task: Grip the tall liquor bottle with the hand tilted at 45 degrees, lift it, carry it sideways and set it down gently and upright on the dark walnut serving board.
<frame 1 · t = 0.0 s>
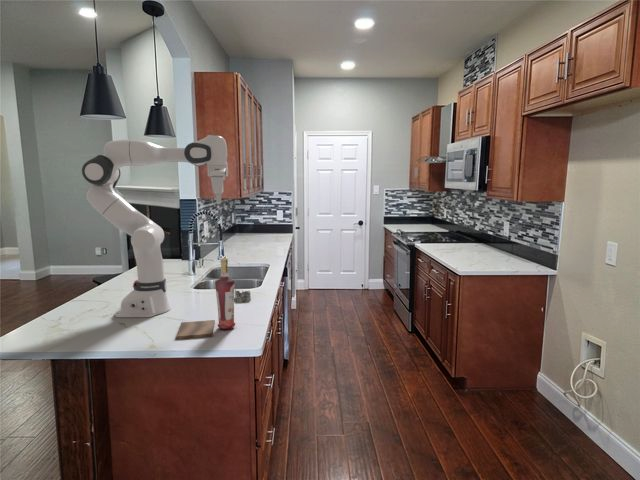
hand: (219, 203, 177), 48 cm above the countertop, tool pointing down, fingers open, 8 cm apart
serving board: (196, 330, 153), on the countertop
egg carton: (243, 299, 195), on the countertop
liquor: (226, 328, 156), on the countertop
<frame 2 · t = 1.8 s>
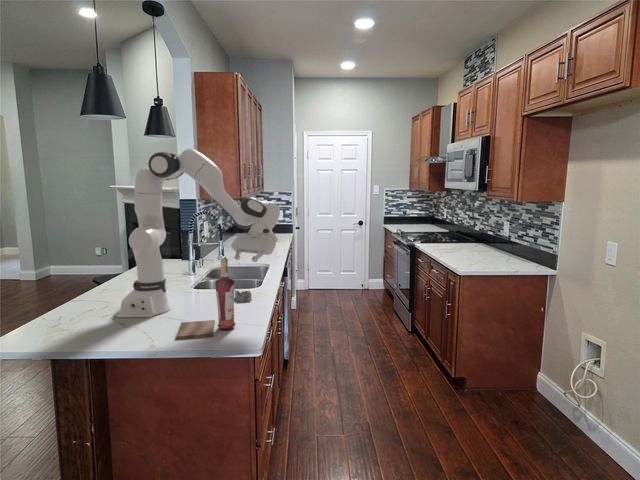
hand: (245, 260, 163), 25 cm above the countertop, tool tilted 45°, fingers open, 8 cm apart
nothing on the countertop moved.
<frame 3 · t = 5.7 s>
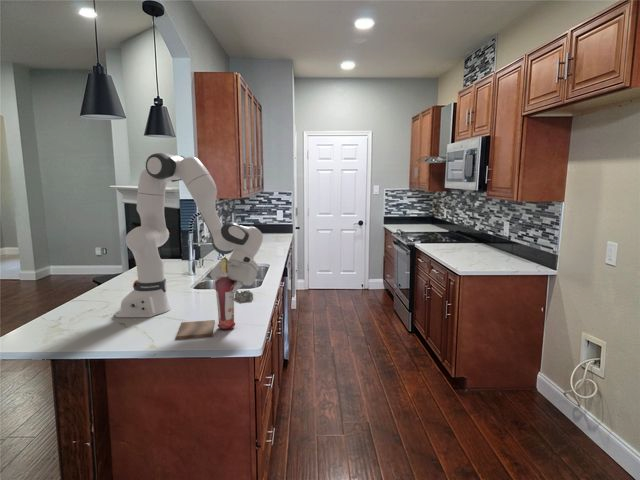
hand: (224, 290, 153), 15 cm above the countertop, tool tilted 45°, fingers closed on liquor, 7 cm apart
liquor: (226, 328, 156), on the countertop, touching gripper
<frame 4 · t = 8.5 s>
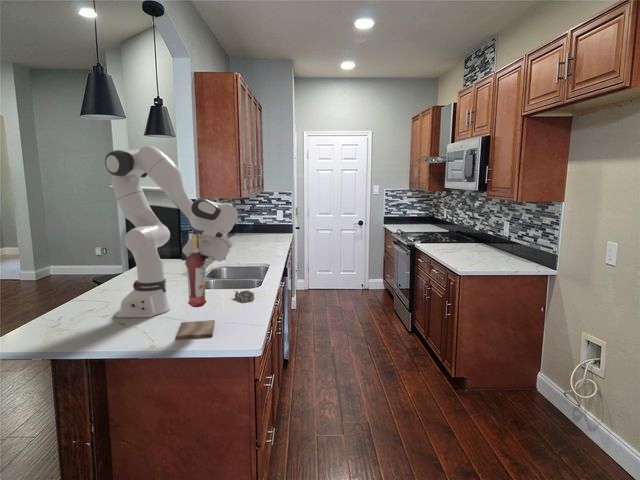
hand: (194, 266, 150), 26 cm above the countertop, tool tilted 45°, fingers closed on liquor, 7 cm apart
liquor: (197, 306, 152), point 10 cm above the countertop, touching gripper
when the fingers open (18 cm above the countertop, at t = 11.7 s): liquor stays where it is, resting on serving board.
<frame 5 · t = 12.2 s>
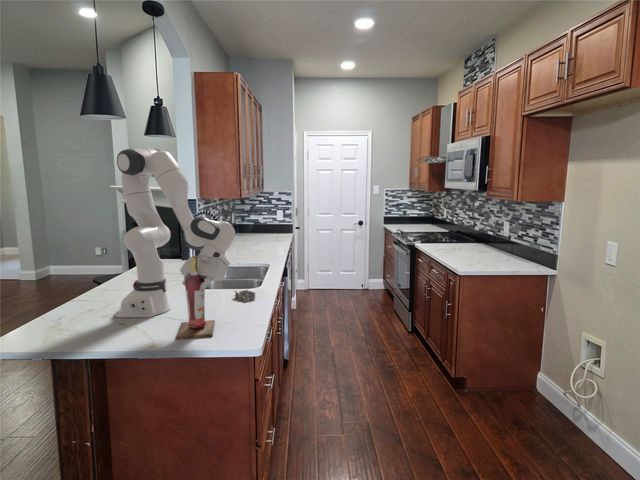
hand: (192, 286, 150), 18 cm above the countertop, tool tilted 45°, fingers open, 8 cm apart
liquor: (197, 327, 154), point 1 cm above the countertop, touching serving board
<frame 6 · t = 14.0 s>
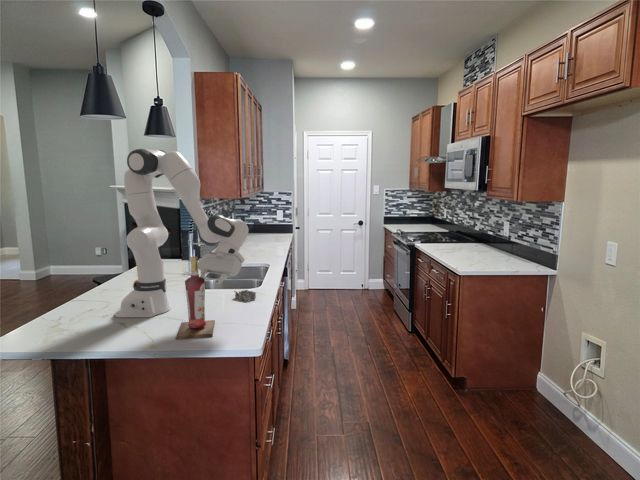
hand: (209, 281, 158), 18 cm above the countertop, tool tilted 45°, fingers open, 8 cm apart
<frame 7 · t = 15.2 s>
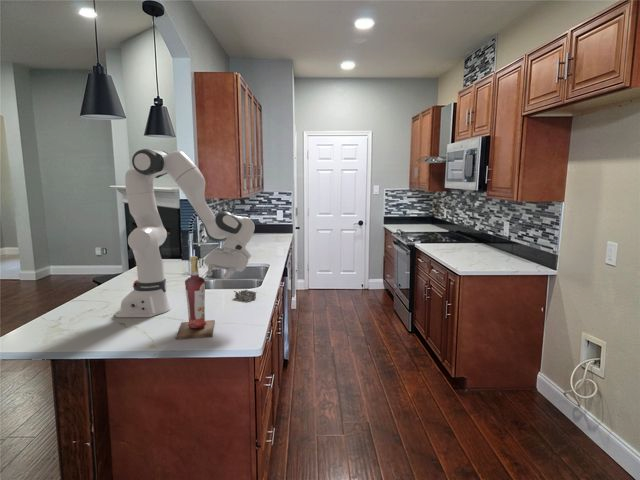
hand: (216, 276, 162), 19 cm above the countertop, tool tilted 45°, fingers open, 8 cm apart
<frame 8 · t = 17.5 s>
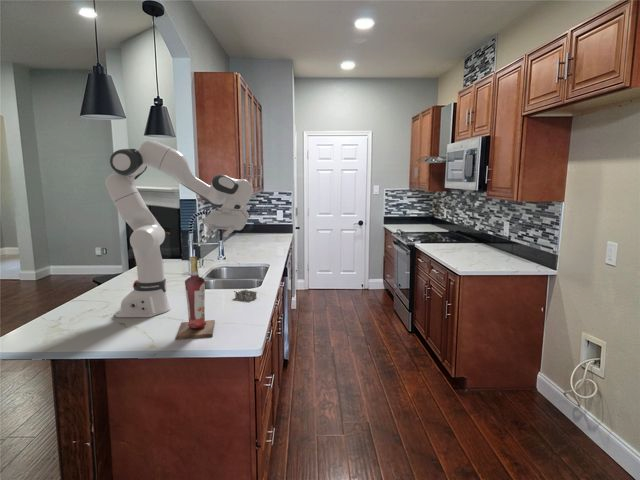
hand: (216, 235, 164), 35 cm above the countertop, tool tilted 45°, fingers open, 8 cm apart
at the end: liquor inside the target area on the serving board (0.5 cm from its centre), point 1.0 cm above the serving board's base; liquor tilted 0°; the gripper is holding nothing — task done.
